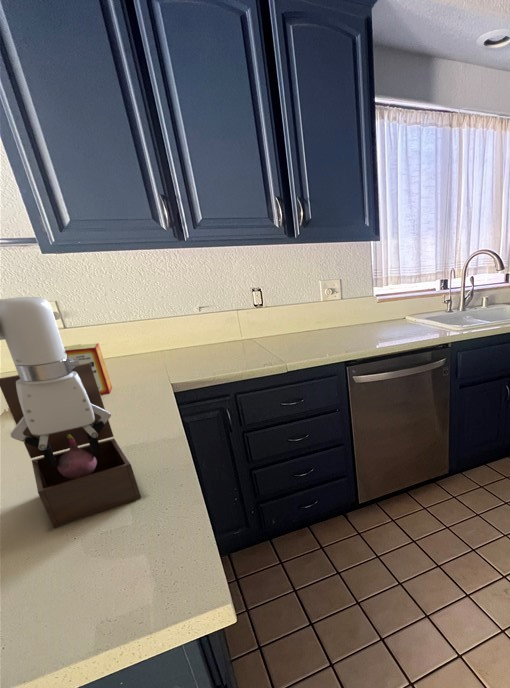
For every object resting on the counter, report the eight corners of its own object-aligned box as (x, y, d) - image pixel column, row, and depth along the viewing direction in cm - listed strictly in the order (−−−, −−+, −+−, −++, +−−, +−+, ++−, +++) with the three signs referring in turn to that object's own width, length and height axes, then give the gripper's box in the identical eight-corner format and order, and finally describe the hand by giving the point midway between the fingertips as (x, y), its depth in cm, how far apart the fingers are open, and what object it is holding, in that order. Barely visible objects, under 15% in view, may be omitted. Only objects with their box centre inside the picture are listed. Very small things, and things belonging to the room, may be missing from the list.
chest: (141, 497, 86) (130, 464, 82) (53, 528, 77) (37, 492, 74) (124, 468, 97) (114, 438, 93) (45, 492, 88) (31, 459, 85)
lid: (90, 363, 86) (86, 358, 89) (-4, 379, 77) (-4, 373, 81) (113, 436, 93) (109, 429, 96) (30, 458, 84) (29, 450, 88)
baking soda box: (112, 387, 149) (98, 342, 142) (109, 393, 144) (95, 346, 137) (80, 391, 146) (64, 345, 139) (77, 397, 140) (60, 349, 133)
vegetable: (108, 474, 87) (94, 430, 83) (84, 490, 82) (68, 443, 78) (82, 471, 88) (67, 427, 84) (56, 487, 83) (39, 441, 79)
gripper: (97, 358, 83) (121, 440, 91) (-19, 374, 73) (18, 466, 81) (104, 366, 78) (129, 453, 86) (-20, 385, 68) (20, 482, 75)
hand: (75, 458), depth 83 cm, fingers closed on vegetable, 6 cm apart
